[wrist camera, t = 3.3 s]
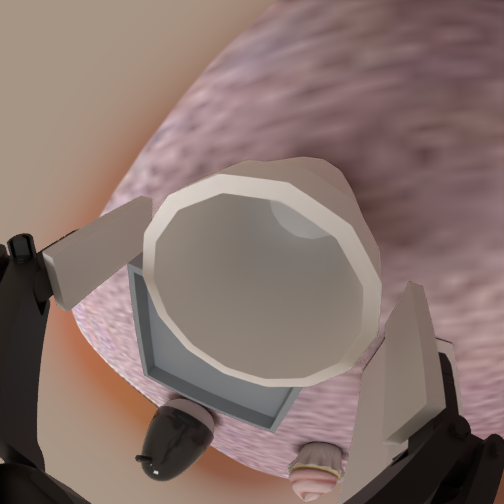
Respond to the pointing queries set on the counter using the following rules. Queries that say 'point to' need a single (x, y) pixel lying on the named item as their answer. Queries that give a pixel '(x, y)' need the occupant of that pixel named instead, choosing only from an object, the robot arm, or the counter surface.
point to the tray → (199, 367)
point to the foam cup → (267, 271)
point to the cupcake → (316, 470)
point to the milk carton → (378, 425)
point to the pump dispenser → (175, 439)
